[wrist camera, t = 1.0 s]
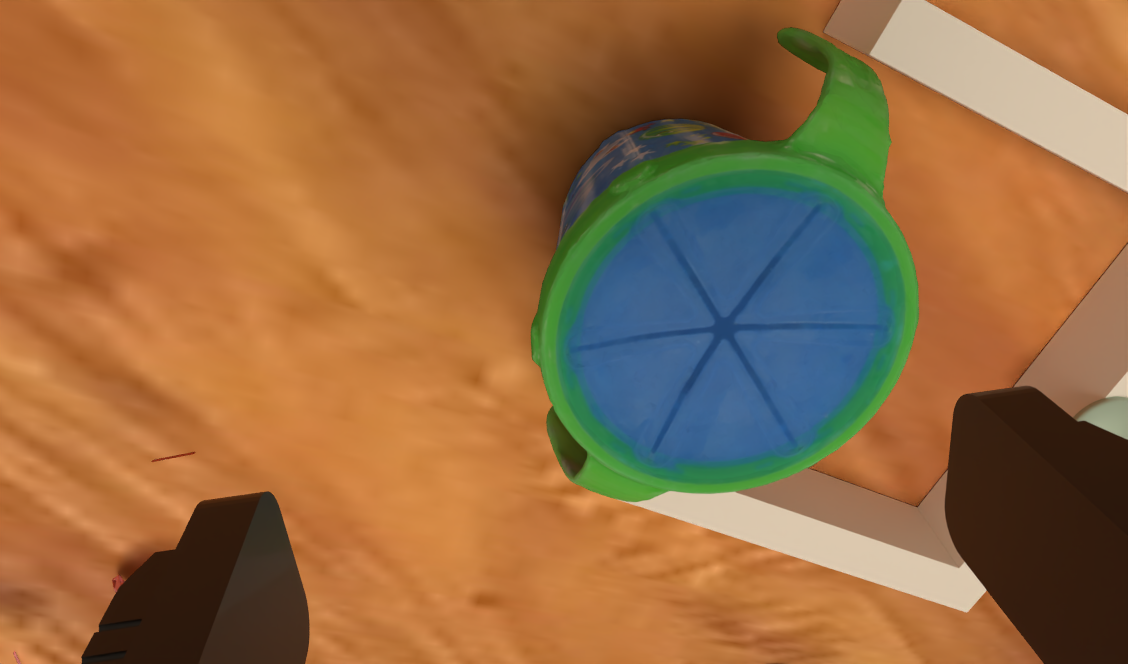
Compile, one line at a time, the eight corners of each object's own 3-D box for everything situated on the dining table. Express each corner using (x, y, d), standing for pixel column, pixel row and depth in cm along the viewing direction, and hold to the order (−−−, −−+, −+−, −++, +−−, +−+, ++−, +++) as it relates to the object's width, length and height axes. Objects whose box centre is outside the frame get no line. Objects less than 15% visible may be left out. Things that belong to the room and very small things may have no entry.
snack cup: (679, -65, 28) (775, -31, 19) (905, 114, 32) (1075, 213, 23) (431, 304, 33) (415, 465, 25) (647, 422, 37) (703, 600, 28)
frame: (855, -25, 29) (913, -8, 25) (1238, 188, 34) (1335, 230, 30) (592, 435, 37) (605, 502, 33) (935, 553, 42) (982, 622, 38)
